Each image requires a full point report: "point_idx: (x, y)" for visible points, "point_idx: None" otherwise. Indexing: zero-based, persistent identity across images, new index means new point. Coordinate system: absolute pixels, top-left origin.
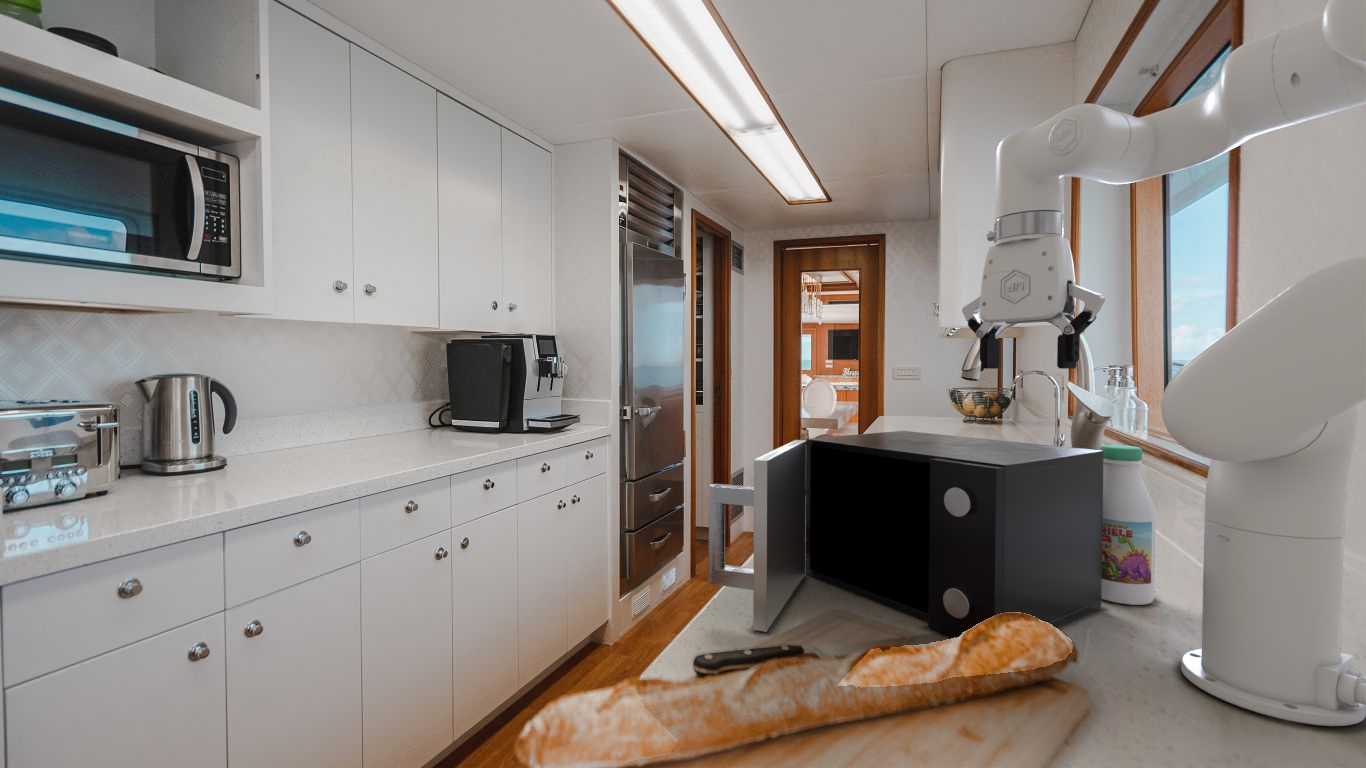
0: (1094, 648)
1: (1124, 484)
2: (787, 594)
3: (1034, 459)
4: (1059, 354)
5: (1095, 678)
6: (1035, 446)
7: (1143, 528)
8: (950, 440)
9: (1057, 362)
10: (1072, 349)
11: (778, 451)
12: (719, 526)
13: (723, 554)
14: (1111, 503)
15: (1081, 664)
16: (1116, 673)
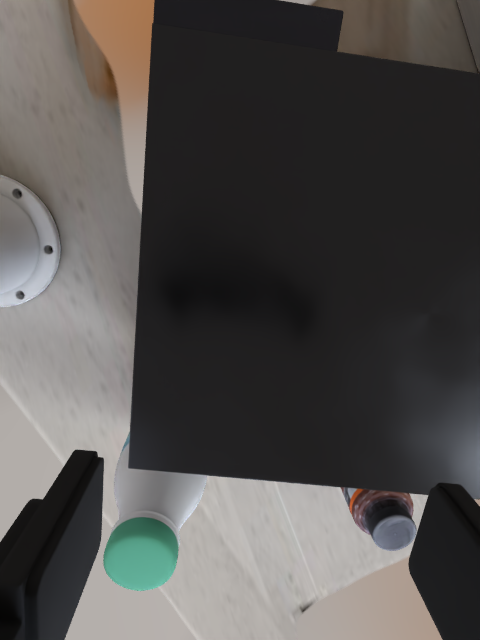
0: (133, 218)
1: (135, 484)
2: (472, 30)
3: (155, 195)
4: (69, 490)
5: (101, 133)
6: (254, 435)
7: (125, 443)
8: (445, 402)
9: (95, 467)
10: (7, 535)
11: None
12: None
13: None
14: None
15: (125, 160)
16: (94, 166)
